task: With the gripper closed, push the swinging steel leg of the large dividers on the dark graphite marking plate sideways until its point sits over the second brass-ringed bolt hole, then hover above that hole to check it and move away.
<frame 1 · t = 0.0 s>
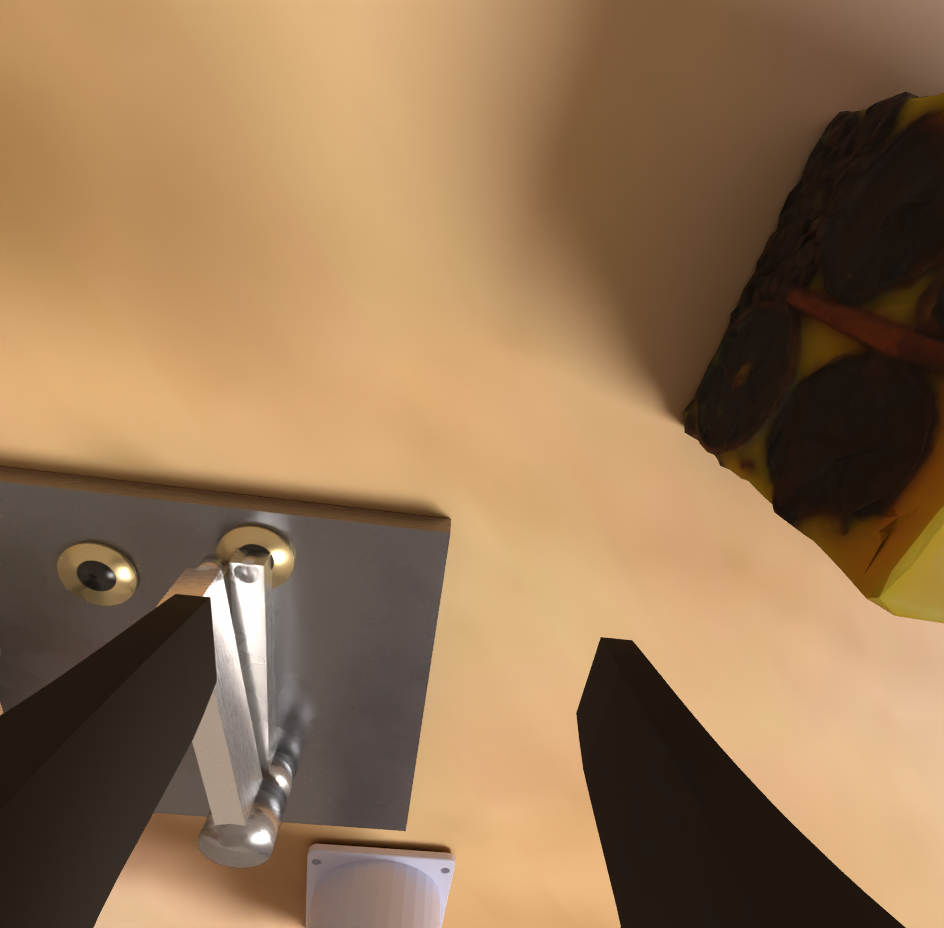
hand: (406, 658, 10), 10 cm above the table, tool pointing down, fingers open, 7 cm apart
marking plate: (222, 668, 24), on the table
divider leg: (228, 723, 21), point 3 cm above the table, hinge at 6.0°
candle: (869, 330, 18), on the table
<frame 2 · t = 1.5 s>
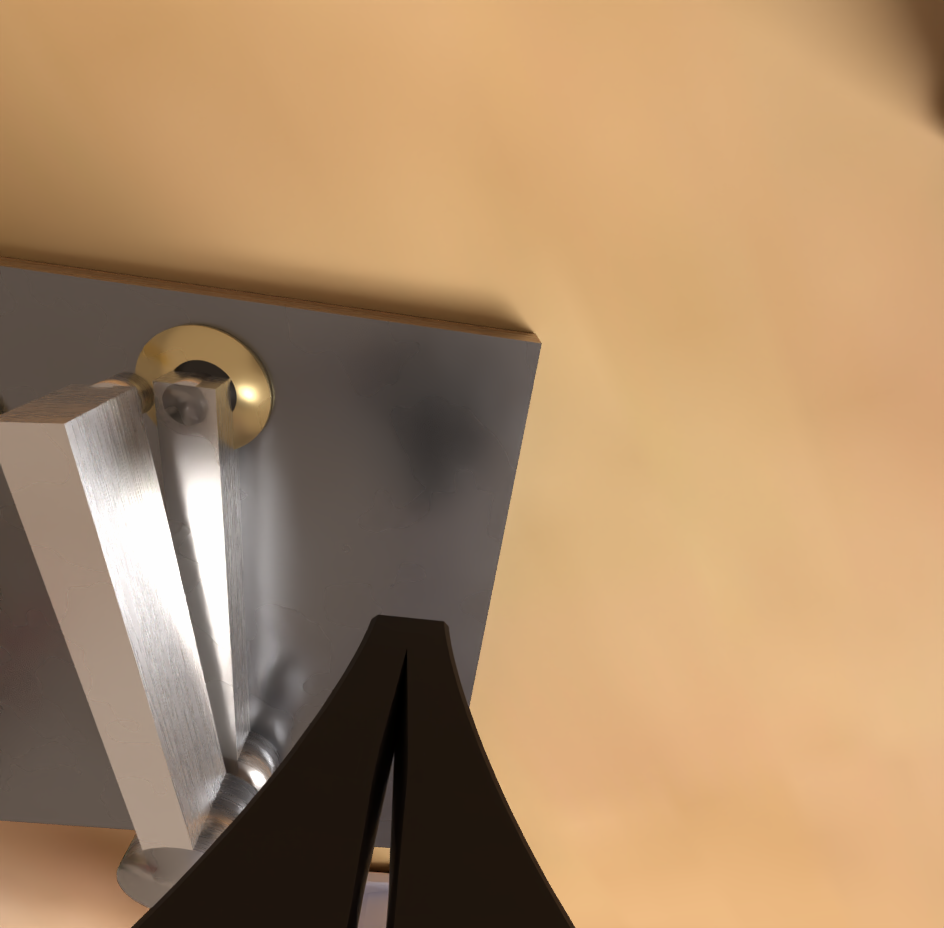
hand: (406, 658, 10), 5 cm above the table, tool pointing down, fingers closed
marking plate: (166, 603, 15), on the table
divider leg: (162, 680, 12), point 3 cm above the table, hinge at 6.0°
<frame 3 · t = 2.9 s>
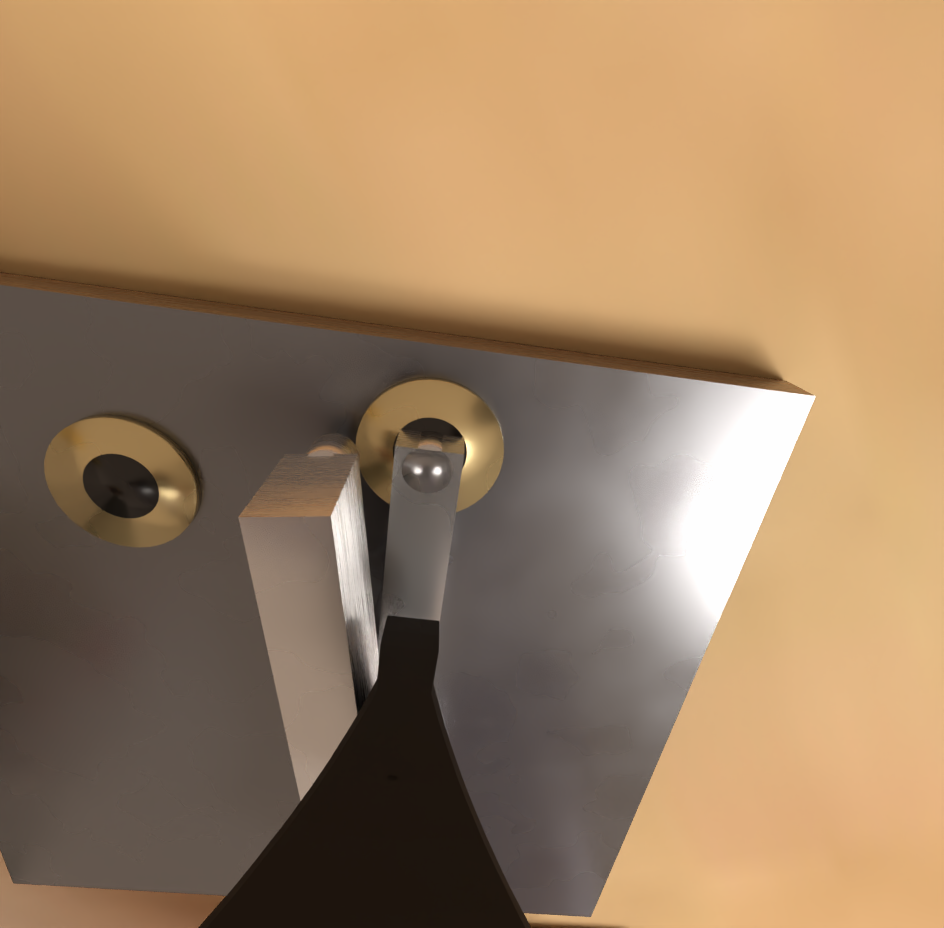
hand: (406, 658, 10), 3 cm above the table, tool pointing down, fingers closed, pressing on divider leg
marking plate: (328, 666, 14), on the table
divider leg: (355, 767, 11), point 3 cm above the table, hinge at 8.2°, touching gripper
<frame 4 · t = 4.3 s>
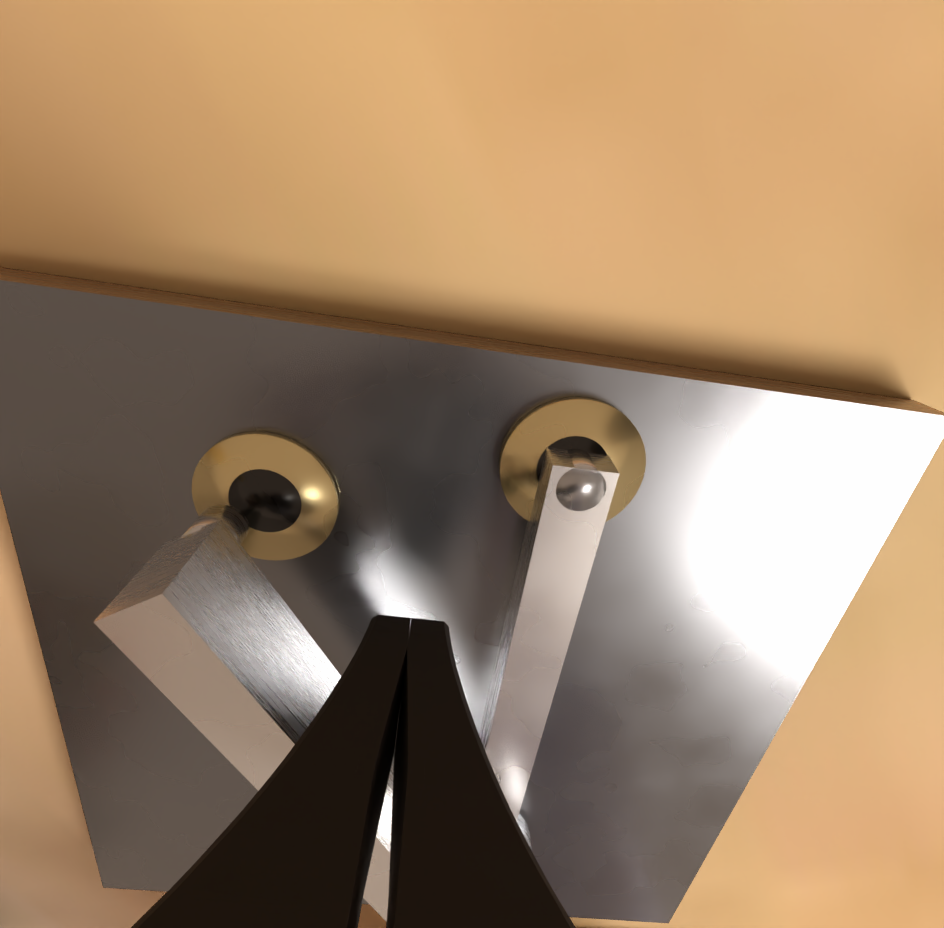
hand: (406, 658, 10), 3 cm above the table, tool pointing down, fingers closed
marking plate: (431, 676, 14), on the table
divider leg: (377, 794, 11), point 3 cm above the table, hinge at 32.5°
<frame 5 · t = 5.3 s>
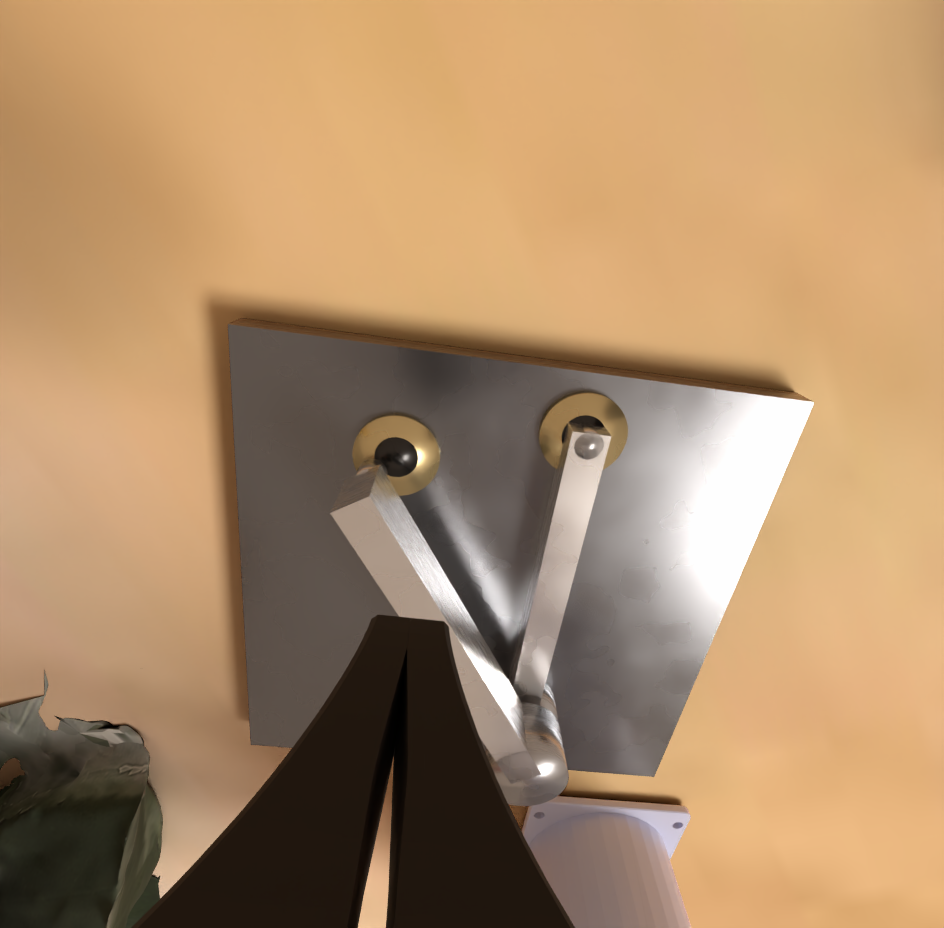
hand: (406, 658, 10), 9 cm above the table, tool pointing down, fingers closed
marking plate: (487, 583, 21), on the table
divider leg: (461, 645, 18), point 3 cm above the table, hinge at 32.6°
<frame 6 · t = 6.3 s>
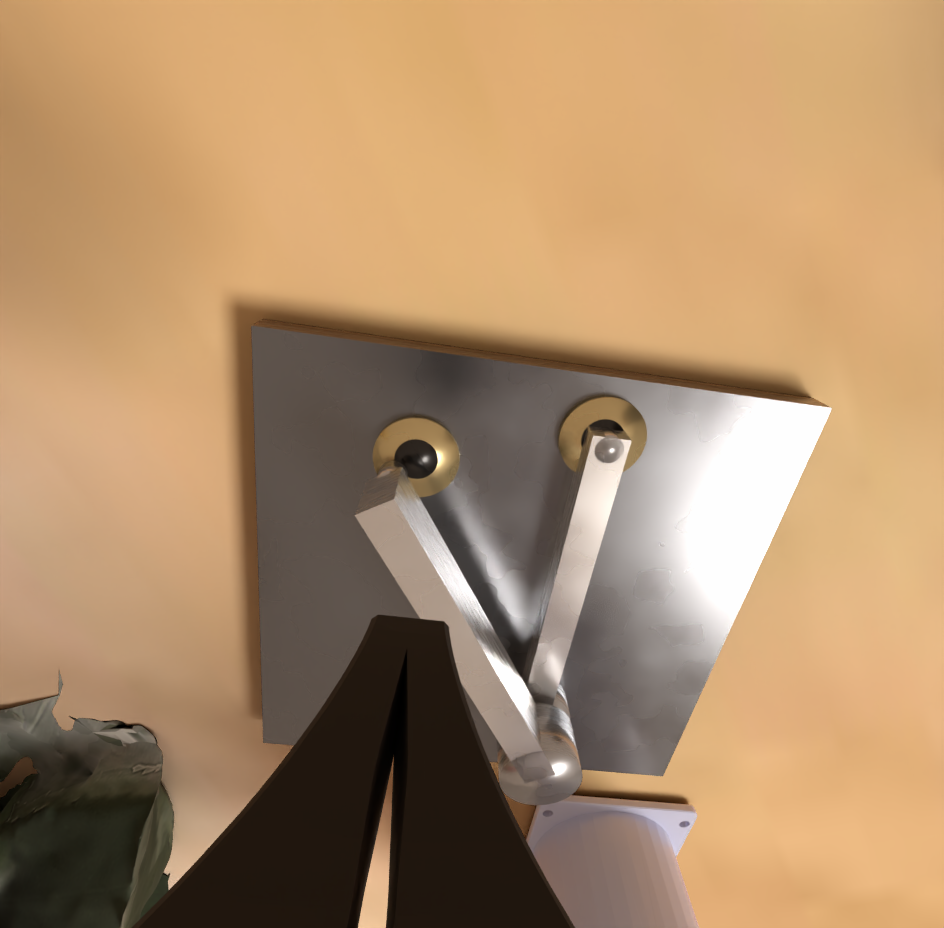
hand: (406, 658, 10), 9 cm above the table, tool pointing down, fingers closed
marking plate: (501, 584, 21), on the table
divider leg: (477, 646, 18), point 3 cm above the table, hinge at 32.6°
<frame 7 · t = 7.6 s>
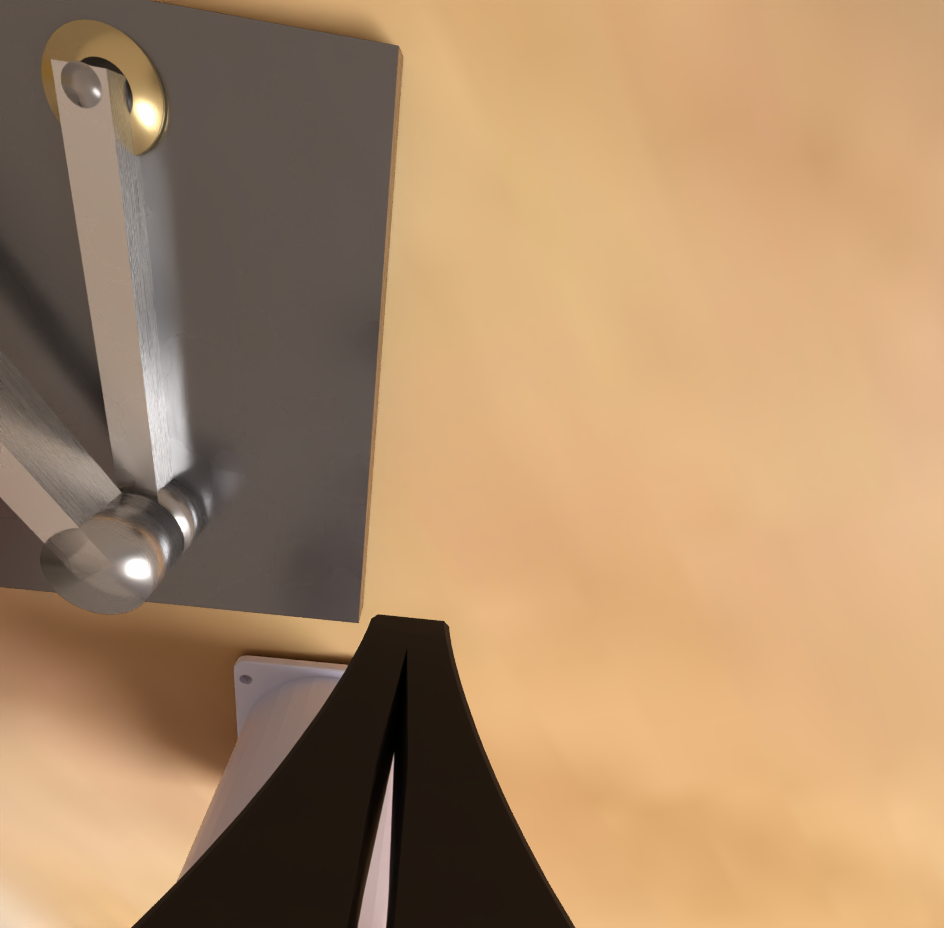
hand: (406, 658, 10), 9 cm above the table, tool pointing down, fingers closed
marking plate: (92, 352, 17), on the table
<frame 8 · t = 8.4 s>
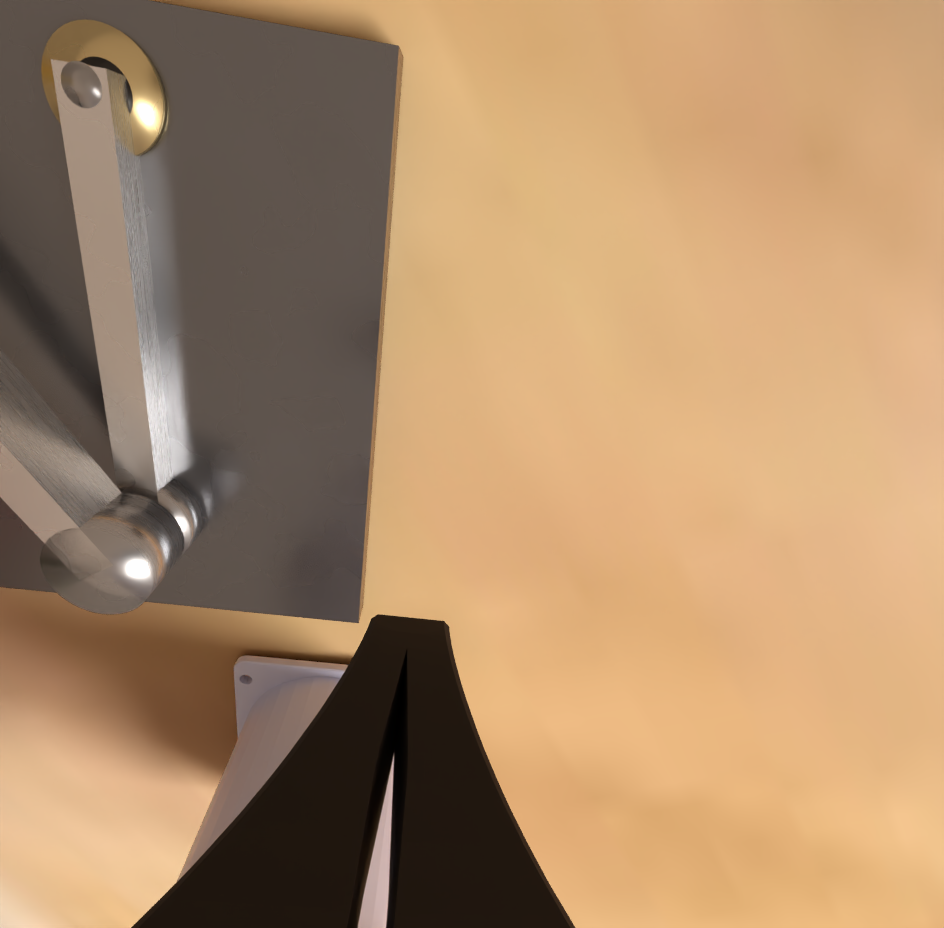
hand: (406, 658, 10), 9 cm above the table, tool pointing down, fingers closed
marking plate: (92, 352, 17), on the table
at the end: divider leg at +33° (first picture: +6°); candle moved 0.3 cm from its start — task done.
